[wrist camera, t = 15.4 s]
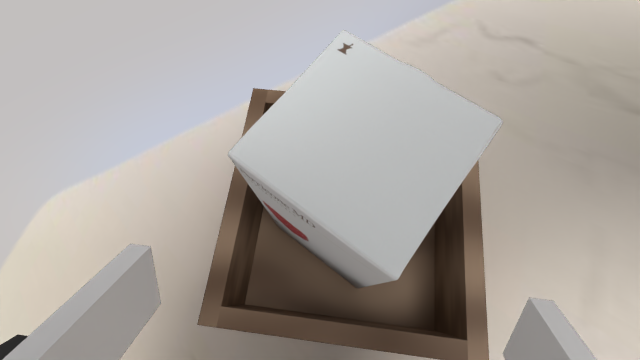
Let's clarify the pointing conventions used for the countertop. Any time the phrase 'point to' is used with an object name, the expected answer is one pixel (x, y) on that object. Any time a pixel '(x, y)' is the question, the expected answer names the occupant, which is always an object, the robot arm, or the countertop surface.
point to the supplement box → (362, 158)
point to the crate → (337, 293)
